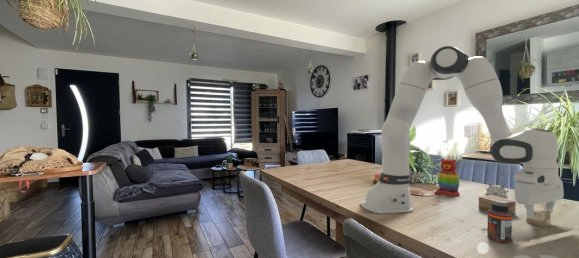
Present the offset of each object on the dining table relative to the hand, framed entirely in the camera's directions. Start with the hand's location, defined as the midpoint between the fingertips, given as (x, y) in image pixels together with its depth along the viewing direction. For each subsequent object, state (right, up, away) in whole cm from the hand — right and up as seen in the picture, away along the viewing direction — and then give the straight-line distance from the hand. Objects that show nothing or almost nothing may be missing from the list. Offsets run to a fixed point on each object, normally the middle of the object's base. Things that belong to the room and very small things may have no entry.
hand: (540, 214), depth 91 cm
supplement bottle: (-22, -5, -9) cm, 24 cm away
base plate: (-6, -4, +12) cm, 14 cm away
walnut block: (-6, -3, +12) cm, 14 cm away
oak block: (0, -5, 0) cm, 5 cm away
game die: (+7, -4, +28) cm, 29 cm away
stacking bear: (-7, -4, +41) cm, 42 cm away
